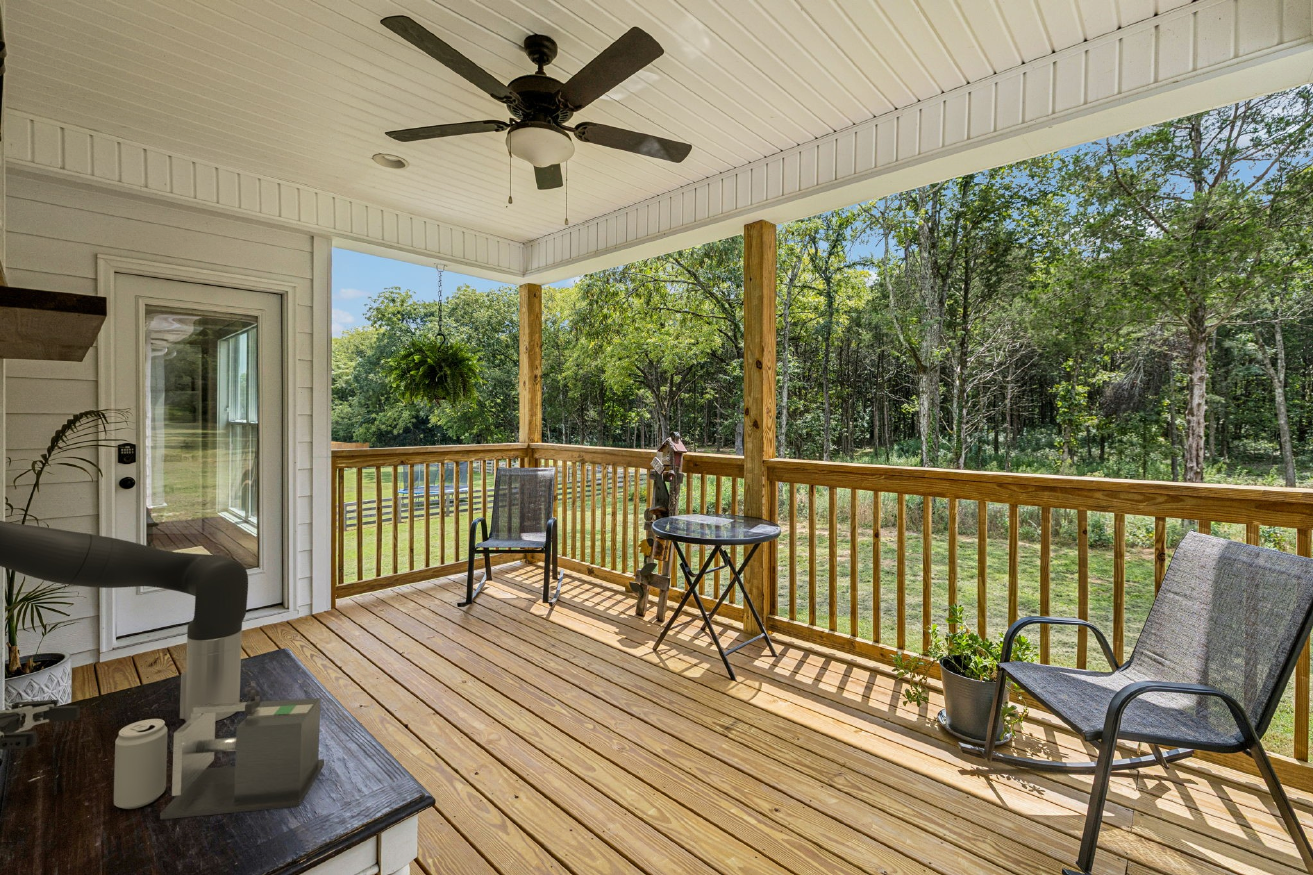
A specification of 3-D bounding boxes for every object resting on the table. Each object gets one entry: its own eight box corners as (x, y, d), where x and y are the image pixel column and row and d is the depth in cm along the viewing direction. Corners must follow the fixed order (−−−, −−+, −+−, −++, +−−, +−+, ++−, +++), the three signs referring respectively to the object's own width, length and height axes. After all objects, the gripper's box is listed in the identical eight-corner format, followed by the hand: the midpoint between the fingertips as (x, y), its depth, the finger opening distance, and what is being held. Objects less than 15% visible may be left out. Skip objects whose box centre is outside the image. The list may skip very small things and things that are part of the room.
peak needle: (244, 714, 96) (245, 694, 96) (253, 705, 99) (253, 687, 99) (251, 713, 97) (252, 694, 97) (259, 705, 99) (260, 686, 99)
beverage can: (134, 815, 91) (136, 739, 91) (102, 808, 92) (104, 733, 92) (175, 790, 97) (177, 719, 97) (145, 784, 98) (147, 714, 98)
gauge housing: (160, 819, 90) (162, 734, 90) (202, 774, 102) (204, 699, 102) (298, 806, 94) (301, 725, 94) (324, 764, 106) (326, 692, 106)
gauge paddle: (171, 795, 91) (174, 721, 91) (206, 760, 101) (208, 693, 101) (236, 790, 93) (238, 717, 93) (264, 755, 103) (266, 690, 103)
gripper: (-120, 730, 81) (21, 723, 85) (-25, 687, 95) (92, 683, 99) (-123, 784, 81) (18, 774, 85) (-28, 733, 95) (89, 727, 99)
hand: (57, 725), depth 92 cm, fingers open, 8 cm apart
